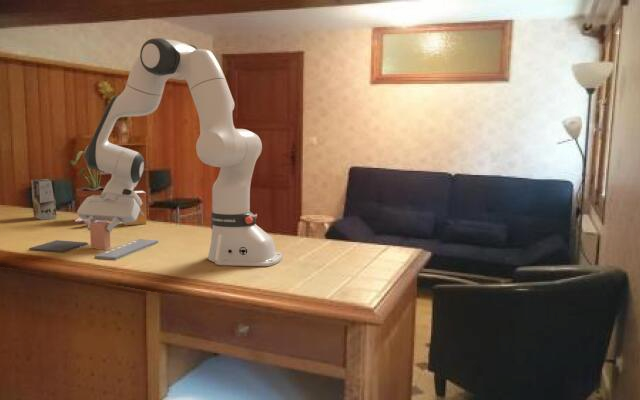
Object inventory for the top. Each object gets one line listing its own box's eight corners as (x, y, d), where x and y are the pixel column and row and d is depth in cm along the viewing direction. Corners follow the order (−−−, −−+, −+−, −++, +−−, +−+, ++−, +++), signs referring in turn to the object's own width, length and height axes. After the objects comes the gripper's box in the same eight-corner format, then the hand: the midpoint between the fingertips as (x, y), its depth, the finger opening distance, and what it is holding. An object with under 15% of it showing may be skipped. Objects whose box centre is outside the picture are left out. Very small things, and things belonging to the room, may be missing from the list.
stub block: (110, 247, 167) (109, 223, 166) (104, 249, 164) (103, 224, 163) (96, 246, 168) (95, 222, 167) (91, 248, 165) (89, 223, 164)
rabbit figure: (103, 225, 210) (70, 225, 196) (104, 211, 210) (71, 209, 197) (113, 227, 207) (81, 226, 194) (115, 212, 207) (82, 211, 194)
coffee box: (57, 218, 215) (55, 180, 213) (40, 220, 211) (38, 181, 208) (49, 215, 222) (47, 178, 219) (33, 217, 217) (30, 179, 215)
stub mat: (87, 244, 170) (87, 242, 170) (62, 252, 159) (62, 250, 158) (56, 241, 173) (56, 240, 173) (29, 250, 161) (29, 248, 161)
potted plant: (93, 215, 223) (90, 134, 218) (122, 218, 218) (119, 135, 213) (65, 221, 209) (60, 135, 204) (94, 224, 204) (91, 135, 199)
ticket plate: (158, 242, 174) (158, 240, 174) (115, 259, 151) (115, 256, 151) (139, 241, 176) (139, 238, 176) (94, 258, 153) (94, 255, 153)
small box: (126, 225, 202) (125, 193, 201) (122, 223, 208) (121, 191, 206) (147, 224, 207) (146, 192, 205) (142, 221, 212) (141, 190, 210)
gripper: (84, 189, 172) (65, 222, 164) (139, 191, 168) (122, 226, 160) (93, 200, 177) (75, 233, 169) (146, 203, 173) (131, 237, 165)
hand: (98, 230), depth 164 cm, fingers closed on stub block, 5 cm apart
